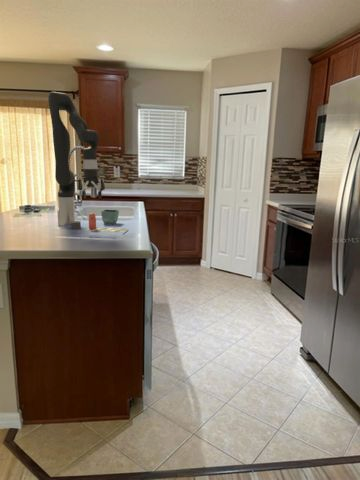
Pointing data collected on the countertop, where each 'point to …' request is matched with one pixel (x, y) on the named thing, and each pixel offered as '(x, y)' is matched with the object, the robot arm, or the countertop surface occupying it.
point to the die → (75, 224)
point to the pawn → (92, 221)
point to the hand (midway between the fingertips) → (92, 198)
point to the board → (109, 229)
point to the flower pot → (110, 216)
